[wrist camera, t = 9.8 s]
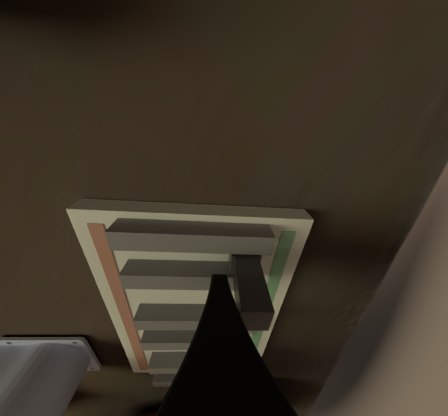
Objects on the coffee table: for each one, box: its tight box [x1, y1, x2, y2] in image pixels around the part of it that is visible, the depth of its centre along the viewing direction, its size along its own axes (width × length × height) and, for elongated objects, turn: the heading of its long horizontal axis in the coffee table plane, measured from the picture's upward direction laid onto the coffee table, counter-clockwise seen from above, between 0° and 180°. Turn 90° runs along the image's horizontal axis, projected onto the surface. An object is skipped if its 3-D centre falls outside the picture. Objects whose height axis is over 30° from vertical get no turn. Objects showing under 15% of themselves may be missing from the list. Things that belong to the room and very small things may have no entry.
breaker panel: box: [66, 198, 314, 387], centre depth 17 cm, size 16×24×3 cm, turn 176°
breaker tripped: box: [228, 254, 275, 331], centre depth 11 cm, size 2×2×5 cm
